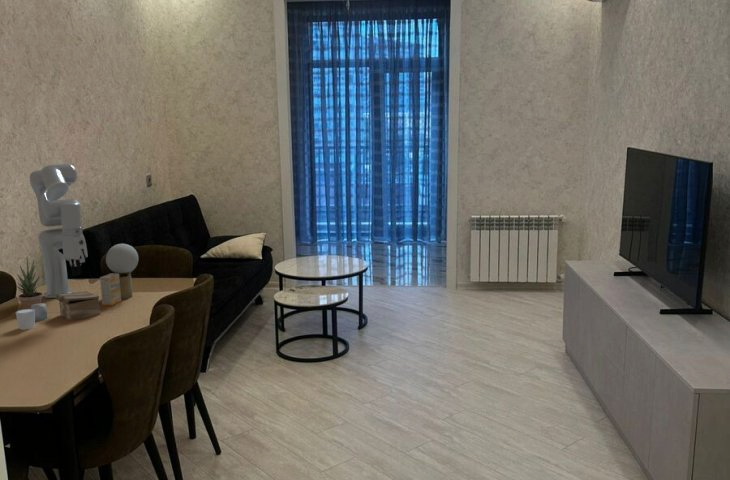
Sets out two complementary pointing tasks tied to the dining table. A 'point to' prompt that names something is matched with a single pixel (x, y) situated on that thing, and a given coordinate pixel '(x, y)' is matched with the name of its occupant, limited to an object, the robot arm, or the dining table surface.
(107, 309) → the dining table surface
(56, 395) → the dining table surface
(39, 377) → the dining table surface
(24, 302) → the potted plant
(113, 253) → the lamp
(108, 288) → the supplement box
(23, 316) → the white cylinder
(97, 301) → the box
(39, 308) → the tape roll
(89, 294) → the lid
